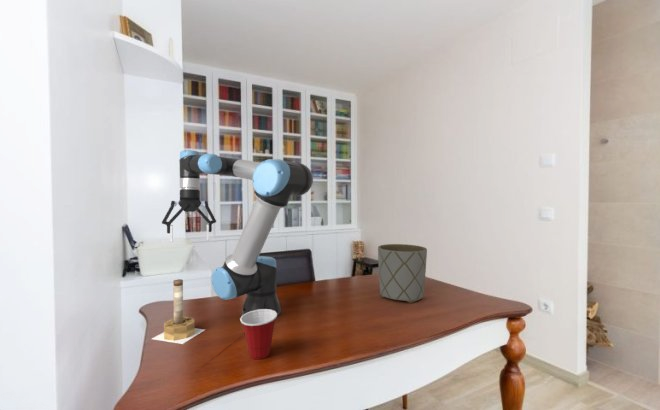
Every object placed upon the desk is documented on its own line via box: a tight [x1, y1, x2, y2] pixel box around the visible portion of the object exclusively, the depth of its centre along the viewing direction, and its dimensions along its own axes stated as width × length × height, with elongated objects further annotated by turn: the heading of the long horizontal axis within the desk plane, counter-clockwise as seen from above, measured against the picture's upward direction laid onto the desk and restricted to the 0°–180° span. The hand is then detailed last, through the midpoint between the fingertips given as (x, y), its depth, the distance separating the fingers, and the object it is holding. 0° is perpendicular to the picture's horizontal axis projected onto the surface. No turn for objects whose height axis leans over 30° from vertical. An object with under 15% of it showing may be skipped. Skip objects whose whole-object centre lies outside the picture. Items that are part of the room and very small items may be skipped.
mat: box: [151, 327, 205, 345], centre depth 105 cm, size 12×11×1 cm
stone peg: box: [173, 279, 184, 325], centre depth 105 cm, size 3×3×18 cm
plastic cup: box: [239, 309, 278, 360], centre depth 93 cm, size 11×11×12 cm
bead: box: [163, 316, 196, 341], centre depth 105 cm, size 9×9×4 cm
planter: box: [377, 243, 428, 304], centre depth 150 cm, size 23×23×24 cm
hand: (189, 240), depth 129 cm, fingers open, 13 cm apart
